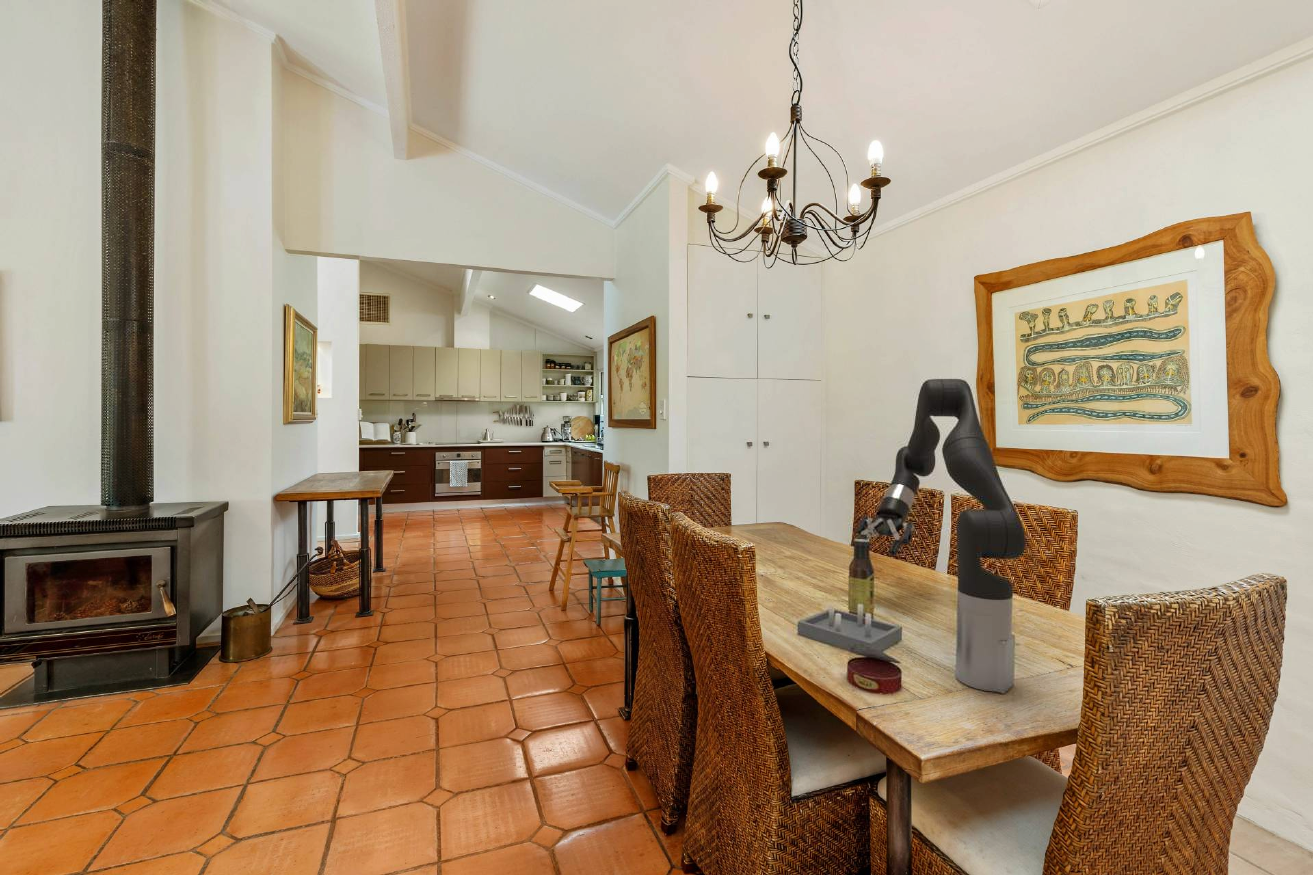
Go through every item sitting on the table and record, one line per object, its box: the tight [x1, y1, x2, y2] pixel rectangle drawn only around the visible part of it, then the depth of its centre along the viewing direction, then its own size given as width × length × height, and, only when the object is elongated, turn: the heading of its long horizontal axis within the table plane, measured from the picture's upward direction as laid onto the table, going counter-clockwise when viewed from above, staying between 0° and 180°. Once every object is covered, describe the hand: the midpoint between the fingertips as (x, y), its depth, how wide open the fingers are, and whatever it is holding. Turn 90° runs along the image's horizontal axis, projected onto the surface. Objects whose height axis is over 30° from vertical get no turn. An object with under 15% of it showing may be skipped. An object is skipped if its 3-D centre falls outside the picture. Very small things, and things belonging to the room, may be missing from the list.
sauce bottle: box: [847, 538, 875, 619], centre depth 148 cm, size 6×6×20 cm
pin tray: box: [797, 603, 903, 652], centre depth 134 cm, size 18×15×6 cm
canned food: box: [846, 642, 903, 695], centre depth 111 cm, size 11×10×10 cm
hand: (875, 551), depth 153 cm, fingers open, 8 cm apart
